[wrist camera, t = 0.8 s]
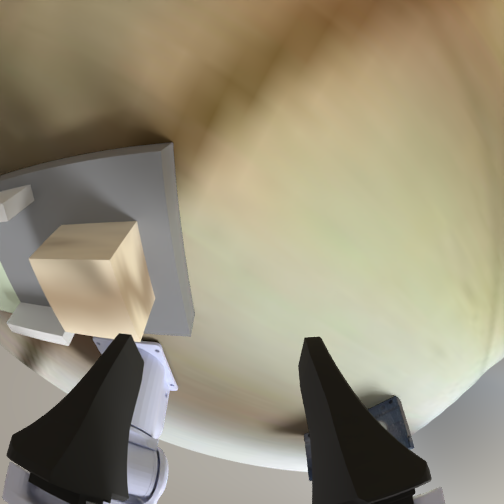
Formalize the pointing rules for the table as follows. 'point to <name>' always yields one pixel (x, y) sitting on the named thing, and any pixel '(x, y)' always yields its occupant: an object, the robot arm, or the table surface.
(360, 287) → the table surface
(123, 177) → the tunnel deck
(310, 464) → the vhs cassette tape
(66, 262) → the birch block
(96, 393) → the robot arm
